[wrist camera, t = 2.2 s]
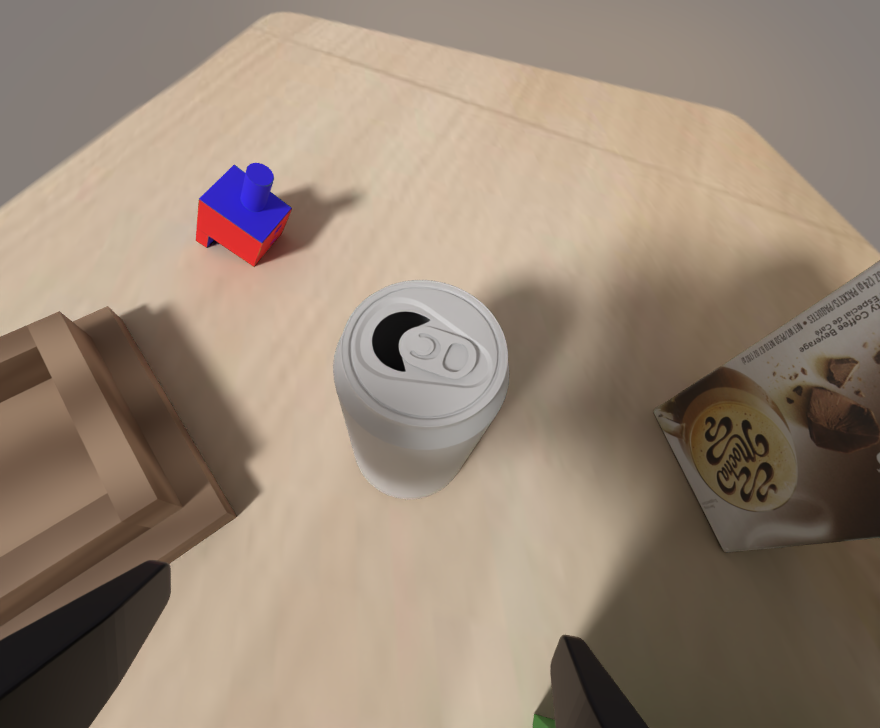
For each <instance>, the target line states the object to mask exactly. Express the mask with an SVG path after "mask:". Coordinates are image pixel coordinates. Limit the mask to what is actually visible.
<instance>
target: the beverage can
mask: <svg viewBox="0 0 880 728" xmlns="http://www.w3.org/2000/svg"><path fill="white" fill-rule="evenodd" d="M333 373H334V381H335V386H336V390H337V394H338V397H339V401H340V405H341V408H342V412H343V415H344V419H345V423H346V426H347V430H348V433H349V437H350V441H351V444H352V448H353V451H354V455H355V459H356V462H357V464H358V467H359V469H360V471H361V472H362V474H363V476H364V477H365V478H366V479H367V481H368V482H369V483H370V484H371V485H372V486H374V487H375V488H376V489H378V490H379V491H381V492H383V493H384V494H386V495H389V496H392V497H396V498H400V499H419V498H423V497H427V496H430V495H432V494H434V493H436V492H438V491H440V490H441V489H443V488H444V487H445V486H447V485H448V484H449V483H450V482H451V481H452V480H453V478H454V477H455V476H456V474H457V473H458V471H459V470H460V468H461V467H462V465H463V464H464V462H465V461H466V460H467V458H468V457H469V455H470V454H471V452H472V451H473V449H474V448H475V446H476V445H477V443H478V442H479V440H480V439H481V437H482V436H483V434H484V433H485V431H486V430H487V428H488V427H489V425H490V424H491V422H492V421H493V419H494V418H495V416H496V415H497V413H498V412H499V410H500V408H501V406H502V404H503V402H504V400H505V397H506V394H507V390H508V385H509V364H508V349H507V344H506V339H505V336H504V333H503V331H502V328H501V327H500V325H499V323H498V321H497V320H496V318H495V317H494V315H493V314H492V313H491V311H490V310H489V309H488V308H487V307H486V306H485V305H484V304H483V303H482V302H480V301H479V300H478V299H477V298H475V297H474V296H472V295H471V294H469V293H467V292H466V291H464V290H462V289H460V288H457V287H455V286H452V285H449V284H446V283H442V282H436V281H429V280H412V281H404V282H399V283H396V284H392V285H389V286H387V287H385V288H383V289H381V290H379V291H377V292H375V293H373V294H372V295H370V296H369V297H367V298H366V299H365V300H364V301H363V302H362V303H361V304H360V305H359V306H358V307H357V308H356V309H355V310H354V312H353V313H352V314H351V316H350V318H349V320H348V321H347V324H346V326H345V328H344V331H343V334H342V336H341V338H340V340H339V342H338V345H337V348H336V351H335V355H334V364H333Z"/></svg>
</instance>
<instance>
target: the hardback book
mask: <svg viewBox="0 0 880 728" xmlns="http://www.w3.org/2000/svg"><path fill="white" fill-rule="evenodd" d="M533 728H556V725H555V720H553V719H550V718H547V717H543V716H540V715H537V714H534V720H533Z"/></svg>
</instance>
